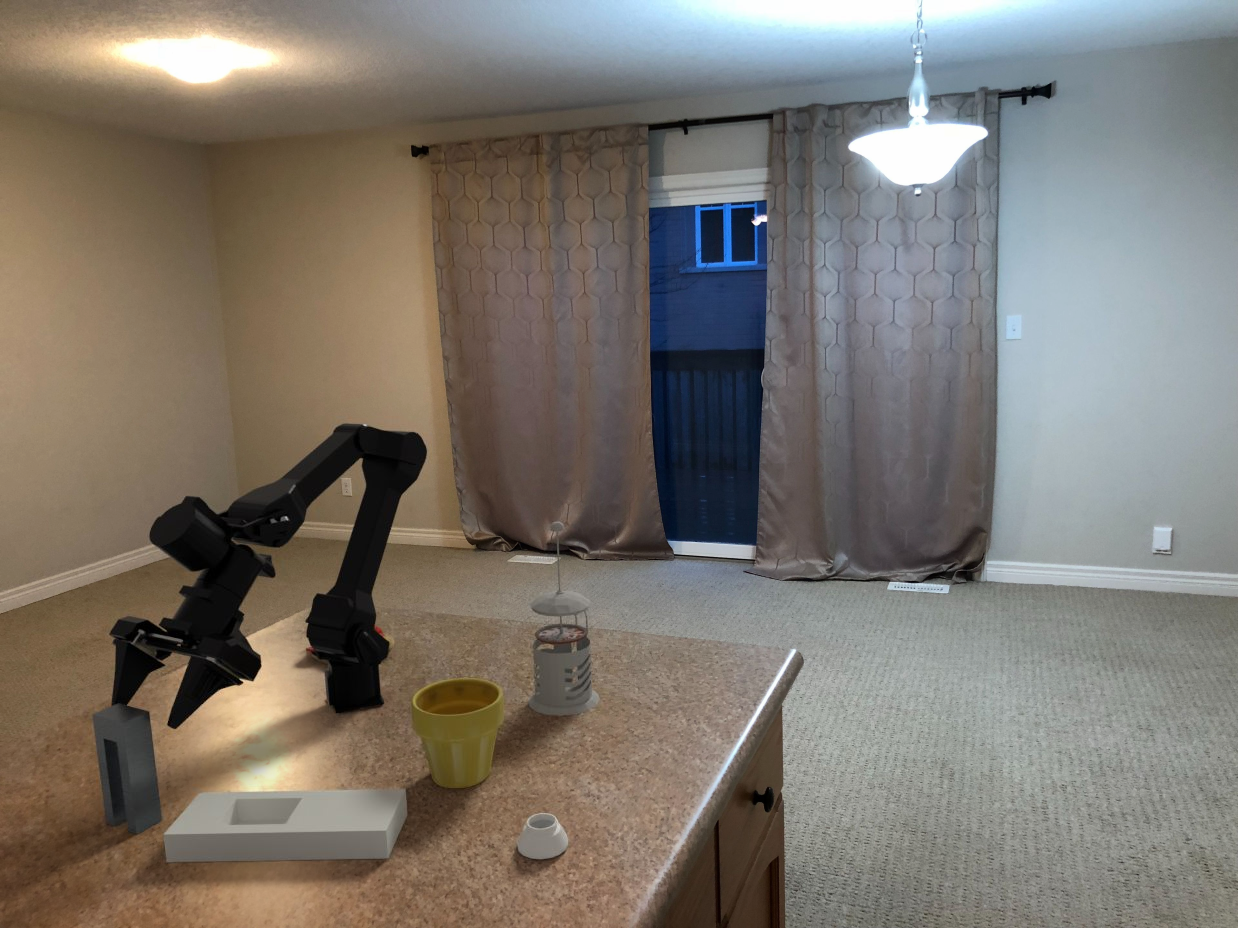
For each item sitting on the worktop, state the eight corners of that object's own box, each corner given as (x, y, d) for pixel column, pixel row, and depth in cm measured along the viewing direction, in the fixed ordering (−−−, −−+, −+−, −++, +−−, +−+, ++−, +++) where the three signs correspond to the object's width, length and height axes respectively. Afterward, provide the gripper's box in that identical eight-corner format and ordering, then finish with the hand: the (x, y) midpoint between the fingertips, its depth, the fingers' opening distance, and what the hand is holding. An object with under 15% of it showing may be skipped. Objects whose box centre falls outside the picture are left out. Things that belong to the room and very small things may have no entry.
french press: (515, 709, 126) (506, 527, 122) (553, 677, 137) (546, 508, 132) (582, 719, 122) (575, 532, 118) (615, 685, 133) (610, 512, 129)
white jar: (520, 866, 91) (571, 858, 92) (519, 838, 91) (570, 830, 92) (515, 837, 96) (563, 831, 97) (514, 811, 96) (562, 804, 97)
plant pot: (509, 792, 105) (504, 709, 103) (414, 802, 103) (408, 718, 101) (504, 749, 115) (500, 673, 113) (418, 758, 113) (412, 681, 111)
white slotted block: (202, 818, 101) (200, 792, 100) (407, 814, 101) (405, 788, 100) (166, 862, 93) (163, 834, 93) (388, 858, 93) (386, 830, 92)
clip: (132, 809, 103) (118, 703, 101) (162, 820, 101) (149, 711, 99) (106, 823, 101) (92, 714, 98) (136, 834, 98) (122, 722, 96)
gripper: (319, 635, 110) (251, 763, 103) (209, 614, 119) (139, 731, 111) (259, 588, 102) (181, 724, 94) (146, 569, 111) (66, 693, 103)
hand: (142, 719), depth 101 cm, fingers open, 9 cm apart
